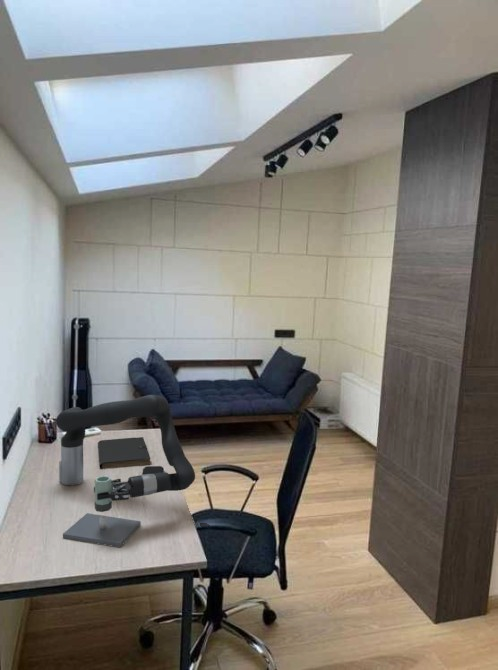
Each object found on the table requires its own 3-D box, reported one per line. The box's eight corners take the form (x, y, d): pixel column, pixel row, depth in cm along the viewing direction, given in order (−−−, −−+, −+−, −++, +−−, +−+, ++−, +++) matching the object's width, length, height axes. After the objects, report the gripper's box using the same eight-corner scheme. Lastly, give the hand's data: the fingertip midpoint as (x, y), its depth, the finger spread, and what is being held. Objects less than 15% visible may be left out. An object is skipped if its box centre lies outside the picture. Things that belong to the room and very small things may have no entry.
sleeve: (92, 510, 178) (92, 481, 177) (100, 503, 184) (99, 475, 182) (106, 512, 177) (106, 482, 176) (114, 505, 182) (113, 476, 181)
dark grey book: (151, 457, 245) (99, 462, 237) (151, 465, 245) (99, 470, 238) (143, 436, 276) (97, 440, 268) (143, 443, 276) (97, 447, 269)
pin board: (62, 537, 176) (62, 522, 175) (87, 516, 191) (87, 502, 191) (120, 547, 171) (120, 531, 171) (140, 525, 187) (140, 509, 186)
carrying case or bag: (141, 471, 238) (138, 484, 223) (141, 465, 237) (138, 477, 223) (163, 470, 239) (163, 483, 225) (164, 464, 239) (163, 477, 224)
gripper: (137, 468, 192) (91, 476, 184) (147, 483, 179) (99, 491, 172) (137, 487, 193) (92, 495, 185) (147, 503, 180) (99, 512, 173)
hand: (95, 493), depth 178 cm, fingers closed on sleeve, 5 cm apart
